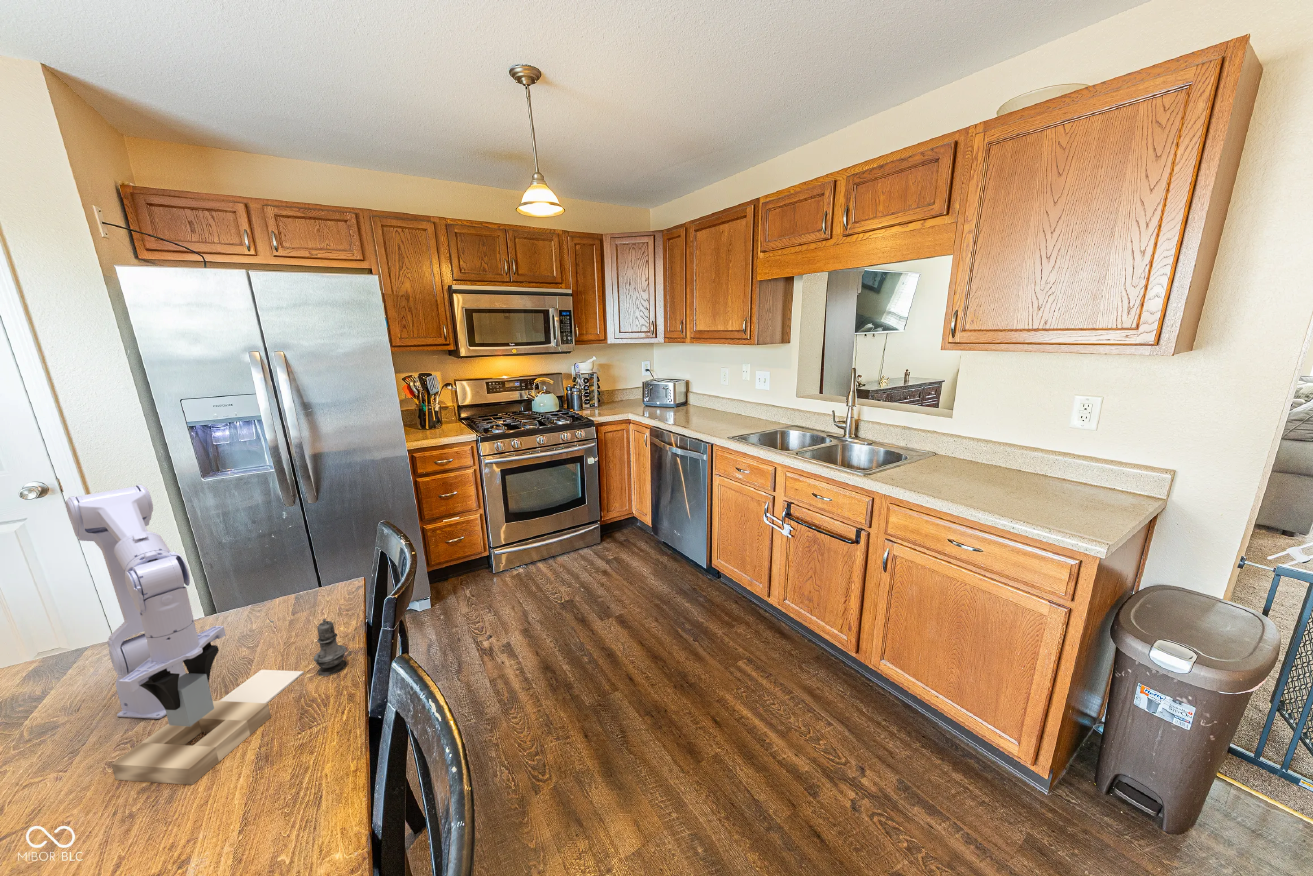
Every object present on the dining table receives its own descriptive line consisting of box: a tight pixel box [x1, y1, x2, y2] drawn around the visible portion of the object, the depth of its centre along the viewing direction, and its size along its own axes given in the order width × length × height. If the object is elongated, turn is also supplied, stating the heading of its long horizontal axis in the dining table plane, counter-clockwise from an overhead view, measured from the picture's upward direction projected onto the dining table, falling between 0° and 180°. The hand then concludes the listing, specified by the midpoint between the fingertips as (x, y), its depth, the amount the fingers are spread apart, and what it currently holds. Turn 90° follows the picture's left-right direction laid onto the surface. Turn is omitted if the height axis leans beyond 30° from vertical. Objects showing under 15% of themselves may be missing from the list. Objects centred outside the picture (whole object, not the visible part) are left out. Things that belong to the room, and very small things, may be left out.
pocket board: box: [110, 700, 272, 786], centre depth 82 cm, size 14×14×3 cm
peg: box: [165, 672, 214, 726], centre depth 80 cm, size 4×4×7 cm
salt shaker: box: [313, 618, 348, 677], centre depth 101 cm, size 6×6×12 cm
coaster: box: [219, 669, 305, 704], centre depth 96 cm, size 10×10×1 cm
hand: (187, 698), depth 80 cm, fingers closed on peg, 4 cm apart
